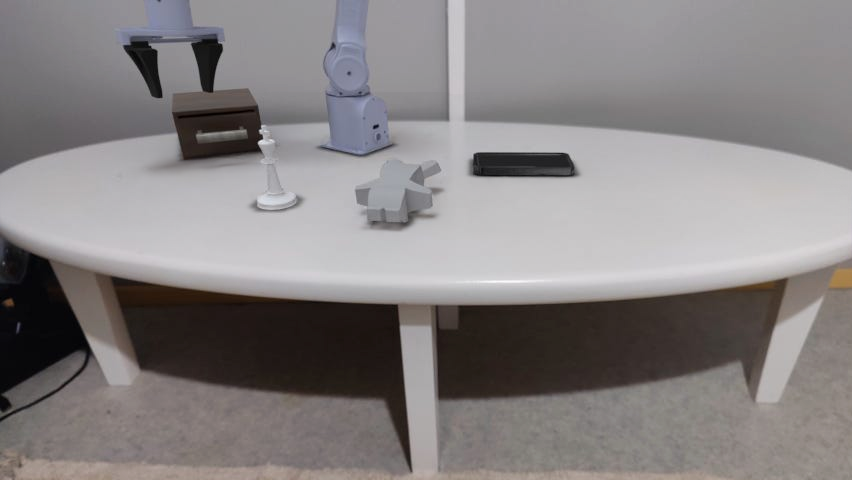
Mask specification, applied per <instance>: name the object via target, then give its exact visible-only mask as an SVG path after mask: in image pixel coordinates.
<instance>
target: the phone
mask: <svg viewBox="0 0 852 480" xmlns="http://www.w3.org/2000/svg"><path fill="white" fill-rule="evenodd" d="M472 158H473V160H472V161H473V162H472V172H473V173H472V174H474V175H479V176H573V175H574V174H575V165H574V162H573V160H572V158H571V155H570V154H569V153H567V152H549V151H548V152H546V151H545V152H541V151H540V152H537V151H534V152H530V151H529V152H527V151H525V152H522V151H521V152H519V151H515V152H513V151H510V152H508V151H507V152H505V151H503V152H501V151H499V152H496V151H495V152H494V151H492V152H491V151H479V152H477V151H476V152H474V153H473V156H472Z"/></svg>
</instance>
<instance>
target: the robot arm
mask: <svg viewBox="0 0 852 480" xmlns="http://www.w3.org/2000/svg"><path fill="white" fill-rule="evenodd" d="M369 2H370V0H336V1H335V10H334V11H335V13H334V21H333V22H334V23H333V28H332V32H331V38H330V44H329V48H328V49H327V51H326V52H325V54H324V56H323V59H322V68H323V72H324V74H325V75H326V77H327V78H328V80H329V83H328V85H327V86H326V88H325V89H324V93H325V102H326V110H327V118H328V125H329V126H328V127H329V135H330V140H328V141H324V142H321V143H320V147H321V148H326V149H330V150H335V151H340V152H344V153H348V154H354V155H359V156H364V155H367V154H369V153H373V152H374V151H377V150H381V149H382V148H386V147H389V146H391V145H393V141H392V140H390V138H389V136H390V135H389V123H388V111H387V106H386V104H385V101H384V100H383V99H382V98H381V97H379V96H376V95H375V94H373V93H372V92H371V87H370V86H369V85H368V83H369V80H370V67H369V65H368V62H367V57H366V55H367V54H366V53H367V41H366V26H367V19H368V9H369ZM143 5H144V10H145V15H146V20H147V26H139V27H120V28H119V27H118V28H113V33H114V36H115V41H116V44H118V45H121V46H122V48H123V50H124V52H125V53H126V54H127V56H129V58H130V59H131V61H132V62H133V63H134V65H135V67H136V68H137V69H138V71H139V72H140V74H141V77H142V78H143V80H144V82H145V84H146V86H147V88H148V91H149V93H150V96H151V97H153V98H155V99H163V98H164V95H163V88H162V84H161V78H160V73H159V72H160V71H159V60H158V57H159V55H158V53H159V51H158V49H156V48H153V47H152V45H150V44H174V43H178V44H179V43H190V46H191V49H192V51H193V54H194V57H195V61H196V65H197V69H198V75H199V83H200V88H201V90H202V91H204V92H208V93H213V91H214V89H215V88H214V87H215V80H216V79H215V78H216V72H217V67H218V64H219V61H220V59H221V56H222V54H223V52H224V45H223V43H221V42H226V38H225V32H224V31H225V30H224V27H220V26H194V22H193V15H192V9H191V3H190V0H143ZM164 37H171V38H164ZM173 37H174V38H173ZM176 37H177V38H176ZM202 91H201V92H202Z"/></svg>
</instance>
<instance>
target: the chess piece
mask: <svg viewBox="0 0 852 480" xmlns="http://www.w3.org/2000/svg"><path fill="white" fill-rule="evenodd" d="M261 129H262V130H259V133H260V134H262V135H263V140H260V141H259V142H258V145H259V147H260V148H261V150H262V151H261V152H262V154H263V156H264V158H262V159H261V160H260V164H262V165H266V173H267V174H266V175H267V190H265V193H262V194H261V195H259V196H258V197H257V199H256V206H257V208H259V209H261V210H265V211H278V210H279V211H280V210H285V209H287V208H291V207H293V206H294V205H295V204H297V203H298V199H297V196H296V194H295V193H293V192H291V191H289V190H288V191H287V190H285V188H283V186H282V185H281V181H280V179H279V176H278V172H277V169H276V168H277V167H276V164H277V163H279V162H280V160H279V158H278V157H275V156H274V153H275V147H276V141H275V140H274V139H271V138H269V136H271V131H269V130H268V128H267V125H263V124H262V126H261Z"/></svg>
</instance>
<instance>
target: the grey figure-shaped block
mask: <svg viewBox="0 0 852 480" xmlns="http://www.w3.org/2000/svg"><path fill="white" fill-rule="evenodd" d="M441 172H442V168H441V166H440V164H439V163H438V161H437V160H432V159H430V160H427V161H424V162H422V163H421V164H418V163H417V164H416V163H407V162H405V163H404V162H403V161H402V160H401V159H399V158H396V157H390V158H387V159H386V162H384V163H382V164H381V166H380V169H379V177H378V178H376V179H374V180H371V181H368V182H365V183H362V184H358V185H355V189H354V193H355V199H356V204H357V205H360V206H363V207H366V209H365V210H366V216H367V221H372V222H374V221H375V222H388V223H407V222H408V221H409V215H408V214H409V213H411V212H416V211H423V210H429V209H432V208H433V206H434V205H433V192H432V189H429V188H427V187H425V180H426V179H428V178H430V177H433V176H434V175H437V174H439V173H441Z"/></svg>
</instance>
